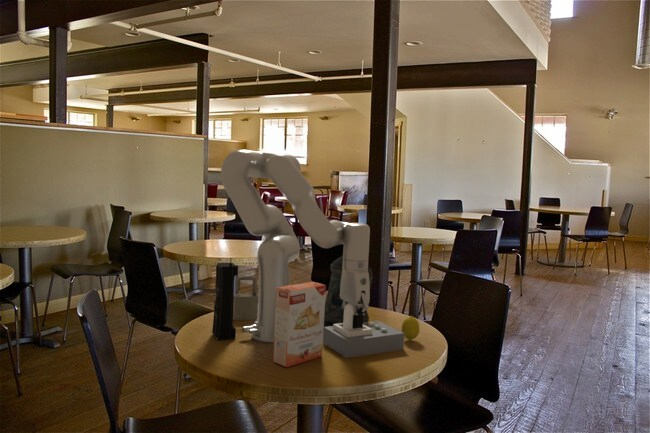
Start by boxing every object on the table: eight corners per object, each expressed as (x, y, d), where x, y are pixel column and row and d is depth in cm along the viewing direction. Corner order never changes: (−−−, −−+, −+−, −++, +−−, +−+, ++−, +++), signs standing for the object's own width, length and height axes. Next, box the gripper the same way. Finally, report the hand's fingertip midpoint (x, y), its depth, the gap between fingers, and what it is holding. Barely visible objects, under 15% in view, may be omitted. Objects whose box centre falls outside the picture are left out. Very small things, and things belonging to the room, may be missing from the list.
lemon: (420, 339, 168) (422, 315, 167) (416, 344, 163) (417, 319, 162) (403, 336, 170) (405, 312, 170) (398, 341, 165) (400, 316, 165)
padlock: (232, 317, 184) (233, 275, 183) (255, 316, 187) (256, 274, 185) (234, 320, 180) (235, 277, 179) (258, 319, 183) (259, 276, 182)
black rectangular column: (210, 333, 166) (212, 254, 163) (229, 331, 168) (232, 254, 166) (216, 340, 158) (218, 258, 156) (235, 339, 161) (238, 258, 159)
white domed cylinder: (343, 324, 160) (344, 299, 159) (360, 325, 160) (362, 300, 159) (343, 330, 154) (344, 303, 154) (361, 331, 154) (362, 304, 154)
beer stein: (313, 328, 175) (316, 254, 173) (331, 314, 194) (334, 246, 192) (361, 335, 170) (365, 258, 168) (375, 319, 189) (378, 250, 186)
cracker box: (287, 369, 139) (290, 290, 137) (272, 362, 143) (275, 286, 141) (323, 356, 149) (327, 284, 147) (308, 351, 153) (311, 280, 151)
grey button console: (346, 358, 148) (347, 335, 148) (322, 342, 161) (323, 322, 160) (403, 349, 158) (404, 328, 157) (377, 335, 170) (378, 316, 170)
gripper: (382, 269, 150) (378, 332, 151) (351, 259, 165) (348, 316, 166) (360, 271, 146) (356, 335, 148) (330, 260, 161) (327, 318, 163)
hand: (352, 324), depth 157 cm, fingers closed on white domed cylinder, 5 cm apart
